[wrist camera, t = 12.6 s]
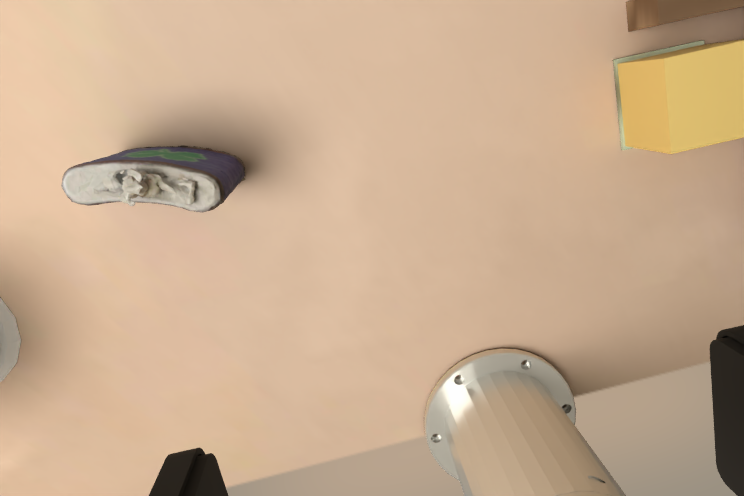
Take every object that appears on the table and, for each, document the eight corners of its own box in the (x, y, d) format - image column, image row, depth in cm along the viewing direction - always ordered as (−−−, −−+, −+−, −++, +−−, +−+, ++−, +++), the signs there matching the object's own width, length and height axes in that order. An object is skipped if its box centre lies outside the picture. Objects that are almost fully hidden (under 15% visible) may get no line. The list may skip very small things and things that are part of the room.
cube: (698, 45, 41) (757, 37, 36) (703, 128, 43) (760, 133, 37) (617, 63, 41) (663, 58, 35) (625, 146, 43) (671, 154, 37)
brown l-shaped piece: (781, 212, 45) (823, 223, 42) (630, 246, 45) (658, 260, 41) (776, -32, 41) (823, -45, 37) (608, 5, 40) (637, -4, 37)
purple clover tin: (116, 182, 41) (45, 211, 31) (114, 141, 41) (41, 156, 30) (246, 189, 42) (219, 220, 32) (246, 149, 41) (219, 167, 31)
